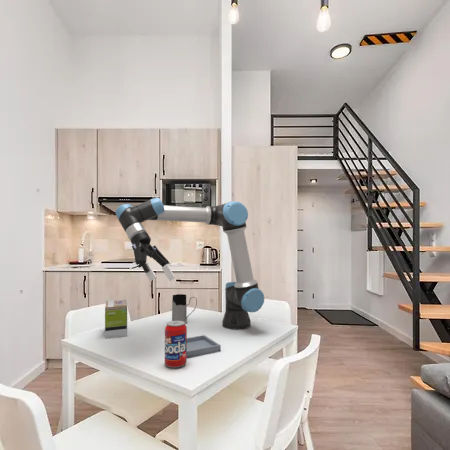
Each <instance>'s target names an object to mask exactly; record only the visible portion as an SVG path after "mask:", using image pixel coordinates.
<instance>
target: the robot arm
mask: <svg viewBox="0 0 450 450" xmlns="http://www.w3.org/2000/svg"><path fill="white" fill-rule="evenodd" d="M115 215H116V217H117V219H118V222H119V224H120V225H121V227H122V229H123V231H124V232H125V234H126V236H127V238H128V239H129V241H130V244H131V249H132V250H133V256H134V262H135V265H136V266H137V267H138V268H142V269H143V271H144V273H145V276H147V278H148V281H149V282H152V281H153V280H156V278H157V275H156V274H155V272H154V270H153V268H152V267H151V265H150V263H149V262H147V261H148V260H147V256H148V257H149V258H150V259H152V260H154V261H156V263H158V264H159V265H160V266H161V269H162V271H163V273H164V274H165V276H166V278H167V279H168V281H169V282H171V281H172V280H173V279H174V278H175V274H174V273H173V271H172V270H171V267H170V266H169V264H170V261H169V260H168V259H167V258H166V257H165V255H163V254H162V252H161V251H160V250H159V249H158V247H157V245H153V246H152V245H151V241H152V238H151V237H150V235H149V233H148V232H147V229H146V228H145V227H144V225H143V223H144V222H146V221H160V222H161V221H165V222H186V223H187V222H188V223H189V222H190V223H205V225H208V226H209V225H210V226H217V227H222V232H223V233H225V234H226V235H227V241H228V246H229V247H228V248H229V251H230V257H231V261H232V266H233V271H234V275H235V281H229V282H226V283H225V289H224V291H225V312H224V316H223V318H222V321H221V322H222V327H223V328H226V329H229V330H244V329H249V328H250V327H251V326H252V325H251V324H252V323H251V322H252V321H251V318H250V315H249V313H256V312H258V311H260V309H262V307H263V305H264V304H265V295H264V292H263V291H262V290H261V289H259V285H258V284H259V283H258V281H257V280H256V279H254V274H253V269H252V266H251V265H252V263H251V260H250V253H249V250H248V244H247V238H246V235H245V230H246V229H247V220H248V217H249V213H248V209H247V207H246V206H245V204H244V203H242V202H240V201H235V200H234V201H228V202H224V203H222V204H219V205H210V206H209V205H207V206H206V207H198V206H197V207H195V206H180V205H167V204H166V205H164V203H163V202H162V200H161V198H159V197H154V198H151V199H149V200H146V201H144V202H142V203H140V204H138V205H134V206H132V205H131V204H130V203H126V204H125V203H123V204H121V205H120V206H118V207H117V208H116V209H115Z"/></svg>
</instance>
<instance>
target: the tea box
mask: <svg viewBox="0 0 450 450" xmlns="http://www.w3.org/2000/svg"><path fill="white" fill-rule="evenodd" d="M124 337H128V304H127V300H126V299H120V300H119V299H117V300H106V301H105V306H104V339H116V338H124Z"/></svg>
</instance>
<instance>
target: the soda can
mask: <svg viewBox="0 0 450 450" xmlns="http://www.w3.org/2000/svg"><path fill="white" fill-rule="evenodd" d="M187 329H188V327H187V324H185V322H184V321H172V320H170V321H167V323H166V326H165V327H164V365H165V366H166V367H168V368H171V369H178V368H181V367H183V366H184V365H186V364H187V361H188V360H187V359H188V358H187V338H188V337H187V335H188V334H187V333H188V331H187Z"/></svg>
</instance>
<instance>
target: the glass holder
mask: <svg viewBox="0 0 450 450" xmlns="http://www.w3.org/2000/svg"><path fill="white" fill-rule="evenodd" d="M193 298H194V299H195V301H196V302H195V303H196V304H195V306H194V308H193V310H192V311H191V312H190V313H189V314H188V315H187V313H188V312H187V307H188V306H189V305H190V304H191V300H192V299H193ZM171 301H172V302H171V303H172V305H171V321H184V322H185V325H187V324H188V318H189V316H190V315H192V313H193V312H195V310H196V308H197V305H198V299H197V298H196V296H191V297H190V298H189V300H188V304H187V294H182V293H178V294H173V295H172V300H171Z"/></svg>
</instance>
